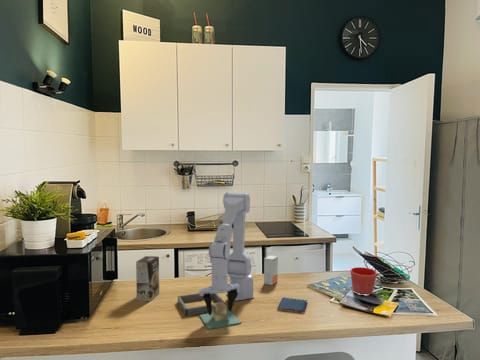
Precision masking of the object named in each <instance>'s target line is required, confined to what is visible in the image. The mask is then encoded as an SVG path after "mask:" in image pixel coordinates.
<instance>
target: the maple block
mask: <svg viewBox="0 0 480 360" xmlns="http://www.w3.org/2000/svg"><path fill="white" fill-rule="evenodd" d="M211 304H212V315H213V318H214V320H215V321H221V320H227V310H228V308H227V305H226V303H225V304H224V303H223V302H219V303H218V302H213V303H211Z"/></svg>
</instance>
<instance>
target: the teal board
mask: <svg viewBox="0 0 480 360" xmlns="http://www.w3.org/2000/svg"><path fill="white" fill-rule="evenodd" d="M199 318H200V319H201V321H202V322H203V324H204V326H205V327H206V328H207V330H214V329H219V328H224V327H230V326H236V325H241V324H242V321H240V319H239V318H238V316H236V314H234V312H233V310H232V311H231V312H230V311H229V310H228V309H227V320H221V321H215V320H214V318H213V315H212V313H211V315H209V314H208V313H202V314H199Z"/></svg>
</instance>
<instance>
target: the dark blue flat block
mask: <svg viewBox="0 0 480 360" xmlns="http://www.w3.org/2000/svg"><path fill="white" fill-rule="evenodd" d="M307 305H308V299H299V298H292V297H282V298H281V300H280V302H279V303H278V306H276V309H277V311H281V312H282V311H283V312H285V311H286V312H290V313H291V312H292V313H295V314H297V313H298V314H300V313H301V314H303V313H305V311H306V307H307Z"/></svg>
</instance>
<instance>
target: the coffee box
mask: <svg viewBox="0 0 480 360" xmlns="http://www.w3.org/2000/svg"><path fill="white" fill-rule="evenodd" d="M135 262H136V263H135V264H136V265H135V268H136V269H135V270H136V271H135V272H136V277H135V279H136V300H137V301H144V302H145V301H146V302H151V301H152V300H154V299H155V297H157V296H158V295H159V294H160V256H155V255H154V256H153V255H149V256H146V255H144V257H142V258H140V259H138V260H137V261H135Z"/></svg>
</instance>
